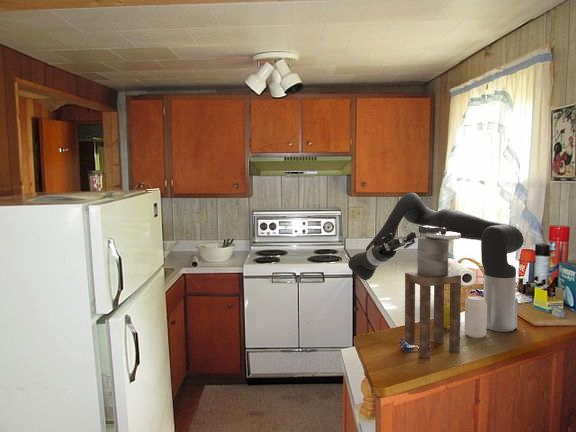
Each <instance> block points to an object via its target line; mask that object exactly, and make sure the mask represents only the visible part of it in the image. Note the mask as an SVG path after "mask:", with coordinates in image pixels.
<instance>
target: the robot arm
mask: <svg viewBox="0 0 576 432" xmlns="http://www.w3.org/2000/svg"><path fill="white" fill-rule="evenodd" d="M403 218H404V219H406V221H408V222H409V223H411V224H414V225H418V226H426V225H428V226H434V227H440V228H446V232H455V233H460V234H461V238H460V239H465V240H472V241H473V240H474V241H476V240H477V241H480V247H481V248H480V250H481V252H480V253H481V254H480V255H481V257H480V258H481V264H482V268H483V272H484V273H483V297H484V298H485V301H486V303H487V329H486V330H490V331H493V332H494V331H495V332H501V333H503V332H504V333H506V332H513V331H515V329H517V328H518V305H519V304H518V303H519V302H518V298H516V289H517V287H516V285H517V284H516V281H517V280H516V279H517V268H516V267H515V266H514V265H512V264H510V263H509V262H508V254H512V253H514V252H516V251H518V250H520V249H522V247H523V245H524V242H525V241H524V235H523V233H522V232H521V230H520V229H519V228H518V227H517V226H514V225H512V224H507V223H501V222H495V221H491V220H486V219H483V218H481V217H478V216H475V215H472V214H469V213H466V212H463V211H461V210H460V211H459V210H458V209H454V208H448V207H447V208H443V209H440V210H438V211H436V210H434V209H431V208H429V207H427V205H426V204H425V203H424V202H423V200H422V199H421V197H420V196H419V195H418V194H417V193H415V192H407V193H405V194H404V195H403V196H402V197H400V199H399V200H398V201H397V203H396V204H395V206H394V208H393V210H392V211H391V212H390V214H389V215H388V218H386V221H385V222H384V225H383V226H382V227H381V228H380V230H379V231H378V233H377V234H376V235H375V236H374V237H373V239H372V240H371V241H370V243H369V244H367V246H366V248H365V251H363V252H360V253H355V254H353V256H351V257H350V258H349V260H348V263H347V264H348V268H349V269H350V271H352V272H353V273H354V274H355V275H356V276H358V277H359V278H360V279H361V280H363V281H368V280H370V279H371V278H373V276H374V274H375V272H376V270H377V268H378V267H379V266H381V265H384V264H385V263H387V262H388V261H390V260H391V259H392V258H393V257H394V256H396V253H397V251H398V250H399V249H402V248H403V249H408V248H409V247H411V246H412V245H414V244H415V243H416V240H415V239H416V238H417V234H416V232H415V231H411V232H409V233H408V234H407V235H405V236H399V237H396V235H397V231H398V228H399V225H400V224H401V221H402V220H403Z"/></svg>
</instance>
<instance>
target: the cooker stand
mask: <svg viewBox="0 0 576 432" xmlns="http://www.w3.org/2000/svg"><path fill="white" fill-rule="evenodd" d="M404 278H405V279H404V343H405V342H407V343H408V344H410V345H415V344H416V337H415V336H416V335H415V334H416V285H418V286H419V343H418V344H419V357H420V358H421V359H430V358H431V308H432V306H431V304H432V303H431V299H432V297H431V295H432V294H431V290H432V289H431V287H433V343H435V344H436V345H441V344H444V335H445V334H444V329H445V328H444V304H445V285H449V306H450V326H449V327H448V328H449V331H448V332H449V335H448V337H449V338H448V339H449V342H448V343H449V344H448V346H449V347H448V351H450V352H451V353H453V354H456V353H457V354H458V353H460V352H461V301H462V300H461V299H462V296H461V295H462V290H461V289H462V275H461V274H458V273H455V272H452V271H451V272H450V271H449V240H440V239H430V238H427V237H426V236H419V237H418V238H417V269H416V271H407V272H404ZM415 346H416V345H415Z"/></svg>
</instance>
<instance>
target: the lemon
mask: <svg viewBox="0 0 576 432" xmlns="http://www.w3.org/2000/svg"><path fill="white" fill-rule="evenodd" d="M449 327H450V305H448V304H446V303H444V329H447V328H449Z"/></svg>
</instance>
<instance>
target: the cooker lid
mask: <svg viewBox="0 0 576 432" xmlns="http://www.w3.org/2000/svg"><path fill="white" fill-rule="evenodd" d="M418 233H419V234H425V237H427V238H430V239H440V240H448V241H450V240H452V241H453V240H459V239H462V238H461V234H460V233H455V232H446V228H440V227H434V226H428V225H426V226H423V225H418Z"/></svg>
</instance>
